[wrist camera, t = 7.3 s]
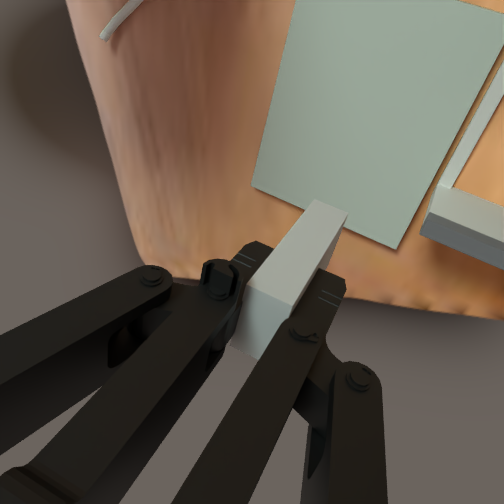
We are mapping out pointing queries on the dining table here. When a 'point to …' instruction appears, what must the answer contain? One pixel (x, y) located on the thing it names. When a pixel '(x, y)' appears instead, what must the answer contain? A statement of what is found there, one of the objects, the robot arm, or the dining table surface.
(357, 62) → the plate
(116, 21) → the tall slanted-top box
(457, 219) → the rack
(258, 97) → the dining table surface
